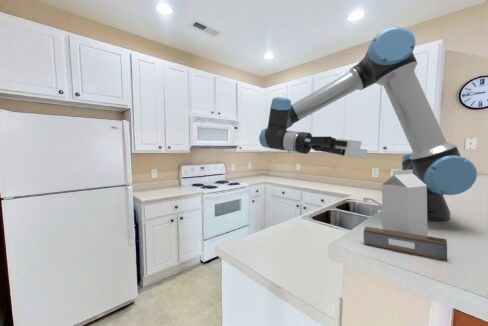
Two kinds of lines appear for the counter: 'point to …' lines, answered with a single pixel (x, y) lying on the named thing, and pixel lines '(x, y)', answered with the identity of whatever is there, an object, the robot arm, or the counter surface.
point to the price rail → (407, 242)
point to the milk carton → (405, 203)
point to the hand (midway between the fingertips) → (363, 150)
